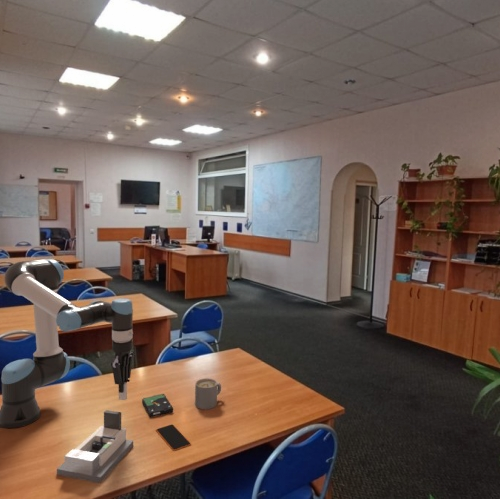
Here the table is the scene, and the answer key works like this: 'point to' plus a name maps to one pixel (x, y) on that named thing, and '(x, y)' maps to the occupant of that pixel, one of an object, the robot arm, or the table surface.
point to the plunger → (110, 425)
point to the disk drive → (157, 405)
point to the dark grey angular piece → (101, 442)
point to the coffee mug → (206, 393)
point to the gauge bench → (101, 468)
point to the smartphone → (173, 437)
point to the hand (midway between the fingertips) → (122, 399)
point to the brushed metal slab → (82, 462)
